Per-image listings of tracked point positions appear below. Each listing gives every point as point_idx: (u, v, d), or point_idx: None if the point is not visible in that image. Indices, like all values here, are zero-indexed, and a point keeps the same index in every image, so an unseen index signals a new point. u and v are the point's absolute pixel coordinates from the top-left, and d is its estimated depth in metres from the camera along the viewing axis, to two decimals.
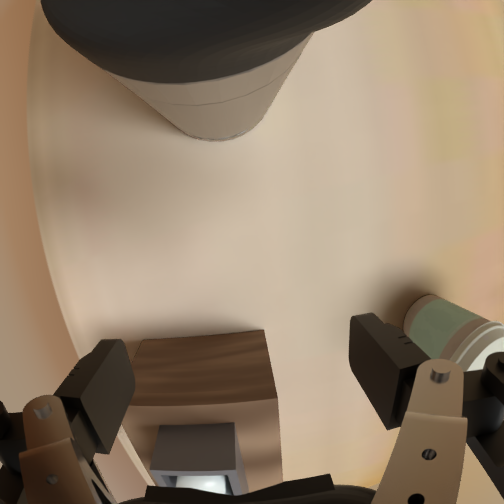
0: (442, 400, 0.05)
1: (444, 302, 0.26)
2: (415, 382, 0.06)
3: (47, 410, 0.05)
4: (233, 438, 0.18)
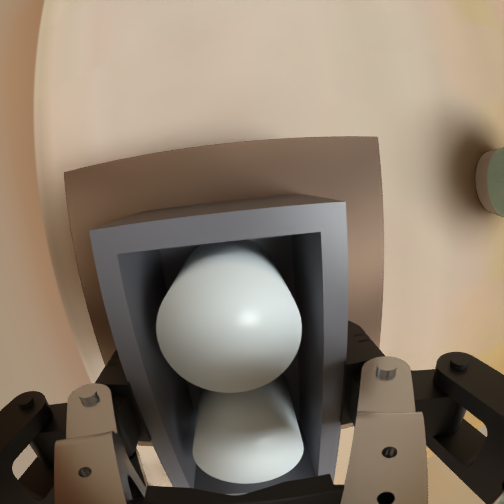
0: (392, 397, 0.05)
1: None
2: (361, 382, 0.06)
3: (94, 399, 0.06)
4: (309, 197, 0.09)
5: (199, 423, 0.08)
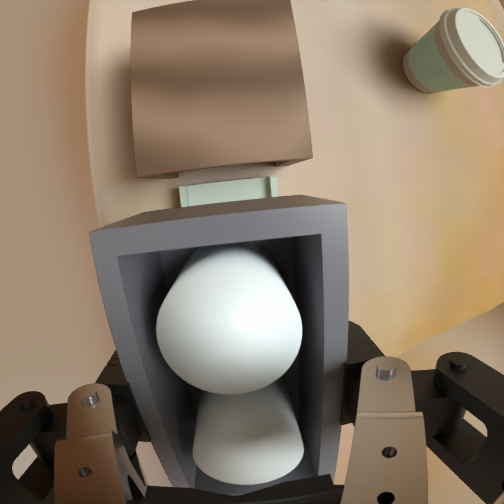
0: (392, 397, 0.05)
1: None
2: (361, 382, 0.06)
3: (94, 399, 0.06)
4: (309, 198, 0.09)
5: (199, 424, 0.08)
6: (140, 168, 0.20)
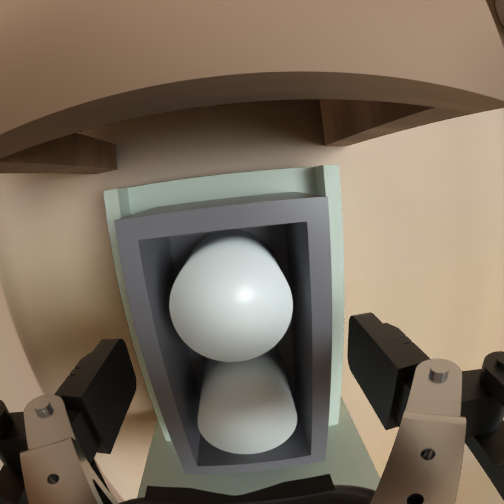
0: (440, 400, 0.05)
1: None
2: (413, 382, 0.06)
3: (49, 409, 0.05)
4: (300, 194, 0.11)
5: (204, 394, 0.10)
6: None
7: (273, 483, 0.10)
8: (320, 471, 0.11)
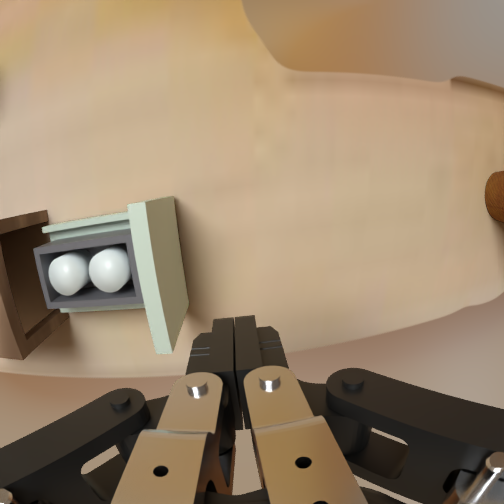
0: (284, 406, 0.06)
1: None
2: (247, 396, 0.06)
3: (202, 390, 0.06)
4: (49, 243, 0.25)
5: None
6: (17, 356, 0.20)
7: None
8: None
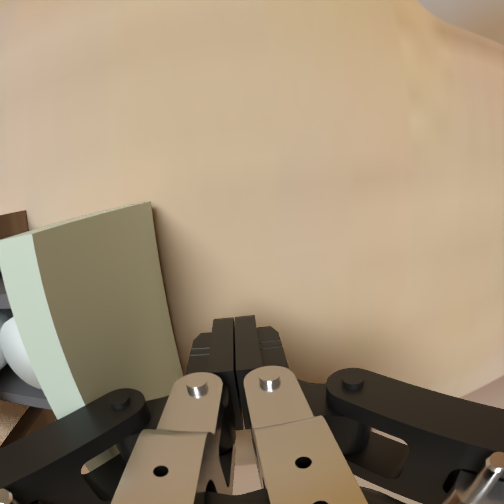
0: (284, 406, 0.06)
1: None
2: (247, 396, 0.06)
3: (202, 390, 0.06)
4: None
5: None
6: None
7: None
8: None
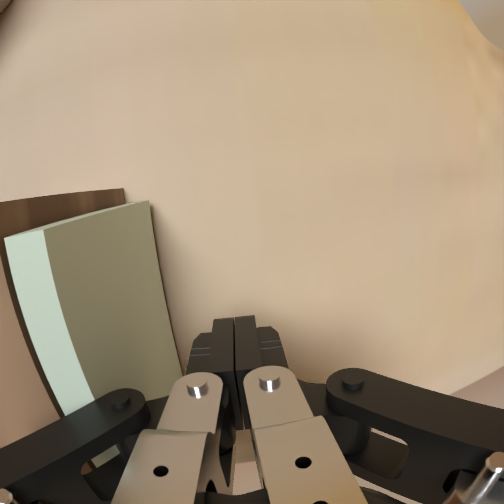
0: (284, 406, 0.06)
1: None
2: (247, 396, 0.06)
3: (202, 390, 0.06)
4: None
5: None
6: None
7: None
8: None
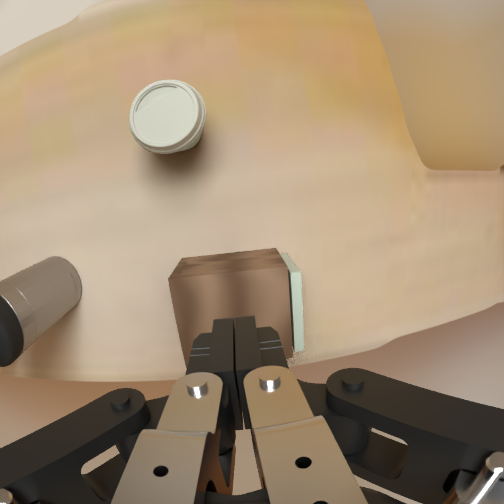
0: (284, 406, 0.06)
1: None
2: (247, 396, 0.06)
3: (202, 390, 0.06)
4: None
5: None
6: (288, 355, 0.37)
7: None
8: None
